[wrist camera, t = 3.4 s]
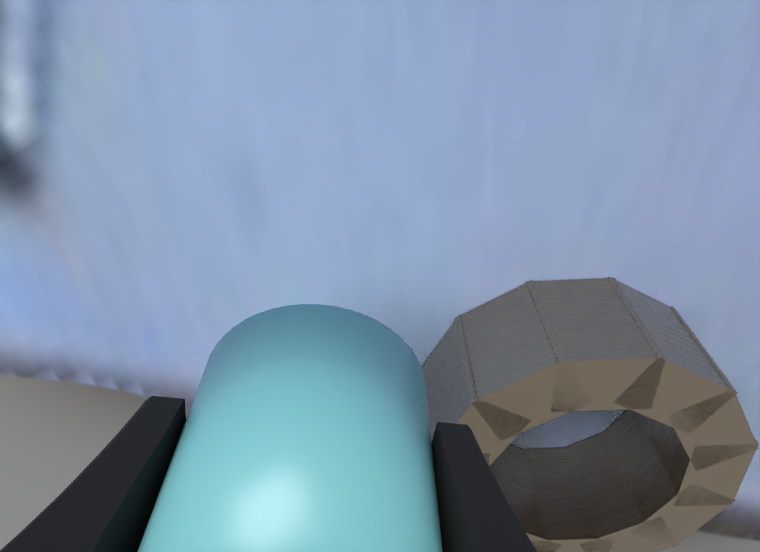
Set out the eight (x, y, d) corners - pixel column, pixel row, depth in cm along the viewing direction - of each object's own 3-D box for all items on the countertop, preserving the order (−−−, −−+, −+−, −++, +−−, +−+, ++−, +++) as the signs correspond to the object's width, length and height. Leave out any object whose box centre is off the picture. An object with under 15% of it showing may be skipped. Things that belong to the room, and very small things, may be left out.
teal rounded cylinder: (468, 357, 12) (516, 597, 8) (364, 490, 14) (360, 731, 10) (252, 268, 11) (173, 494, 7) (175, 427, 13) (82, 671, 9)
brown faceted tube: (753, 346, 21) (827, 432, 17) (577, 506, 26) (607, 597, 22) (518, 231, 18) (551, 305, 15) (371, 432, 23) (370, 523, 20)
